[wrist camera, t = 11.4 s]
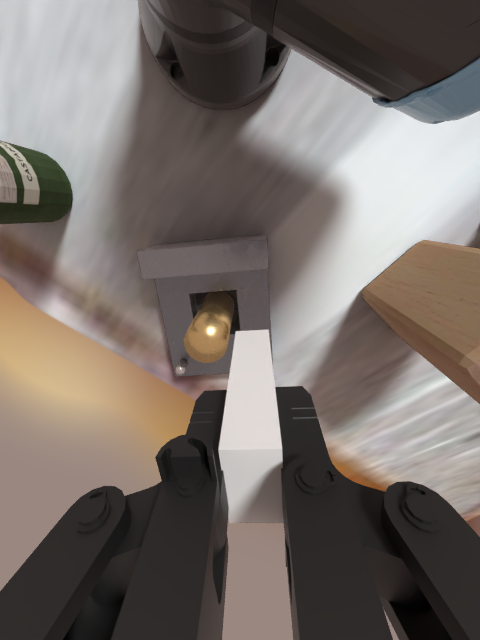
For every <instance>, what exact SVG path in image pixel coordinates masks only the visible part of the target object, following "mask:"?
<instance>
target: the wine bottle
mask: <svg viewBox="0 0 480 640" xmlns="http://www.w3.org/2000/svg"><path fill="white" fill-rule="evenodd" d="M71 200H72V191H71V185H70V182H69V180H68V178H67V176H66V174H65V172H64V171H63V169H62V168H61V167H60V166H59V165H58V163H57V162H56V161H54V160H53V159H52V158H50V157H49V156H48V155H46V154H43V153H40V152H38V151H35V150H31V149H28V148H24V147H21V146H17V145H14V144H10V143H7V142H3V141H0V224H14V223H36V222H53V221H55V220H58V219H61V218H62V217H63V216H64V215H65V214H66V213H67V212H68V209H69V207H70V205H71Z"/></svg>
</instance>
